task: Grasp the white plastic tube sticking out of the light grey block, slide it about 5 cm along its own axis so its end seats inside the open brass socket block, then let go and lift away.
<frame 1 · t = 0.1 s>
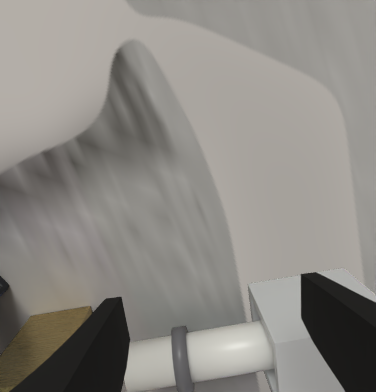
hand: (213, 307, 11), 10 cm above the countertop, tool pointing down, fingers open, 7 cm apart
socket: (100, 341, 23), on the countertop
light grey block: (297, 308, 23), on the countertop
tube: (249, 346, 20), point 3 cm above the countertop, slide at 0.0 cm
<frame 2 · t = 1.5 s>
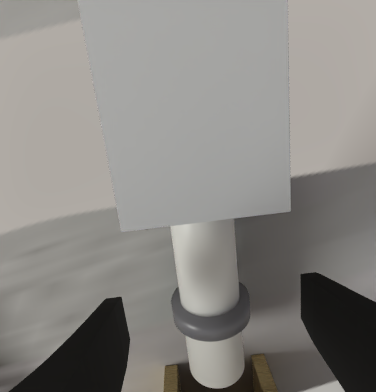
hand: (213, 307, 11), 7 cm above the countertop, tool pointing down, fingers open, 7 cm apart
socket: (214, 360, 19), on the countertop
light grey block: (187, 117, 15), on the countertop
tube: (201, 218, 13), point 3 cm above the countertop, slide at 0.0 cm
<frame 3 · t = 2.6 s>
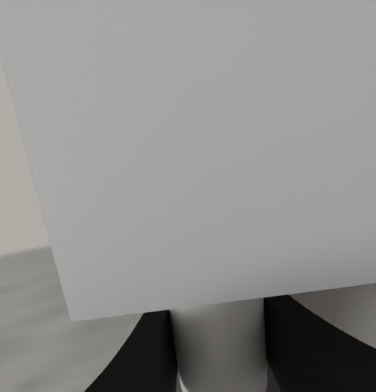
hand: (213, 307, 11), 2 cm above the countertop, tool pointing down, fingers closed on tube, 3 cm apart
light grey block: (190, 113, 10), on the countertop
tube: (211, 266, 9), point 3 cm above the countertop, slide at 0.0 cm, touching gripper
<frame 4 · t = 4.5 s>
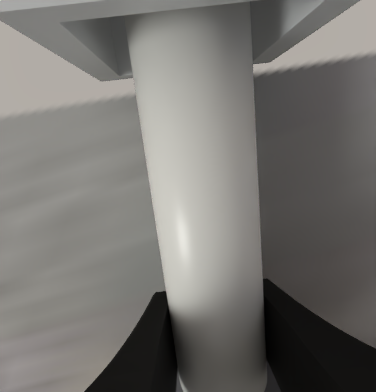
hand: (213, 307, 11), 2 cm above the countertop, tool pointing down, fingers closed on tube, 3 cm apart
tube: (211, 261, 9), point 3 cm above the countertop, slide at 5.3 cm, touching gripper
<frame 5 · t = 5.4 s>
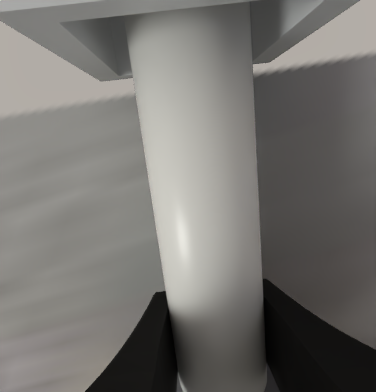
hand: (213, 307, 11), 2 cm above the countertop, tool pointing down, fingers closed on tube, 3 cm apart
tube: (211, 261, 9), point 3 cm above the countertop, slide at 5.3 cm, touching gripper
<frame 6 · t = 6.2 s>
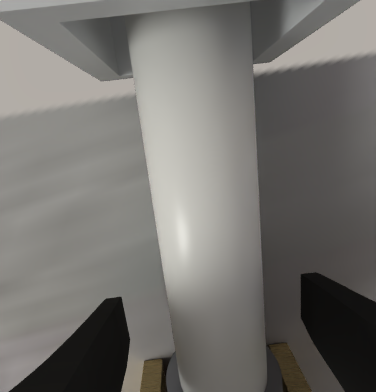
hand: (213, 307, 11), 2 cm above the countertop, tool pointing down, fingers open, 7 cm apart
socket: (215, 351, 13), on the countertop
tube: (211, 261, 9), point 3 cm above the countertop, slide at 5.3 cm
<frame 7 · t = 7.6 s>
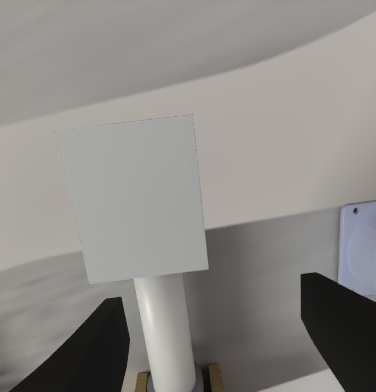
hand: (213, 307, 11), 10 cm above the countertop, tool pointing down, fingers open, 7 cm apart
socket: (178, 368, 24), on the countertop
light grey block: (149, 180, 19), on the countertop
tube: (166, 330, 19), point 3 cm above the countertop, slide at 5.3 cm
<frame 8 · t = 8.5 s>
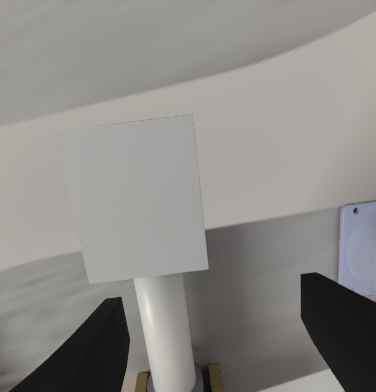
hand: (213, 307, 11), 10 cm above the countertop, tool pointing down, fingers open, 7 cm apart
socket: (178, 368, 24), on the countertop
light grey block: (149, 180, 19), on the countertop
tube: (166, 330, 19), point 3 cm above the countertop, slide at 5.3 cm
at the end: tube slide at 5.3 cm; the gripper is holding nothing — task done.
